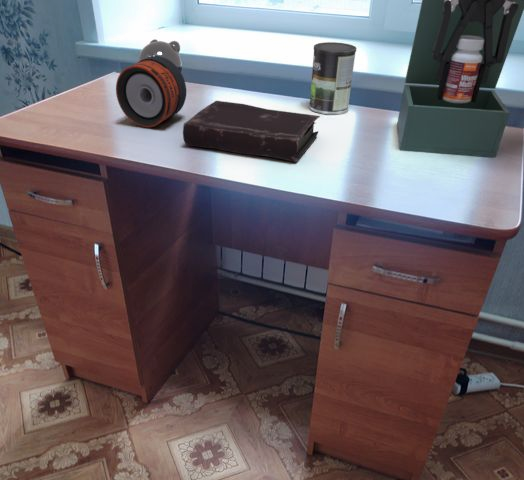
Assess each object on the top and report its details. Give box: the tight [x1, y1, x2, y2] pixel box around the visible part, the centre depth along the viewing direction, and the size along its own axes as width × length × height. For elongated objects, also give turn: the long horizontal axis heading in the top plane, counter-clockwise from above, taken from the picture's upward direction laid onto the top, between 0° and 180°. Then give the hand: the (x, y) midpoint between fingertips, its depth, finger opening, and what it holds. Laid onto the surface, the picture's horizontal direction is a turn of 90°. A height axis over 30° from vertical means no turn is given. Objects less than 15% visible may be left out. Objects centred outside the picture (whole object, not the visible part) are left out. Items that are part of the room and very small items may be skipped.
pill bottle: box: [442, 35, 485, 103], centre depth 102 cm, size 6×6×11 cm
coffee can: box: [308, 41, 358, 116], centre depth 126 cm, size 10×10×14 cm
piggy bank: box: [138, 38, 183, 73], centre depth 138 cm, size 11×15×12 cm
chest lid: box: [404, 0, 524, 90], centre depth 109 cm, size 18×20×7 cm
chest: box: [396, 84, 511, 158], centre depth 112 cm, size 17×20×9 cm
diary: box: [182, 100, 321, 163], centre depth 110 cm, size 19×25×5 cm
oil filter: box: [115, 56, 187, 128], centre depth 116 cm, size 13×12×13 cm
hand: (455, 98), depth 106 cm, fingers closed on pill bottle, 6 cm apart
